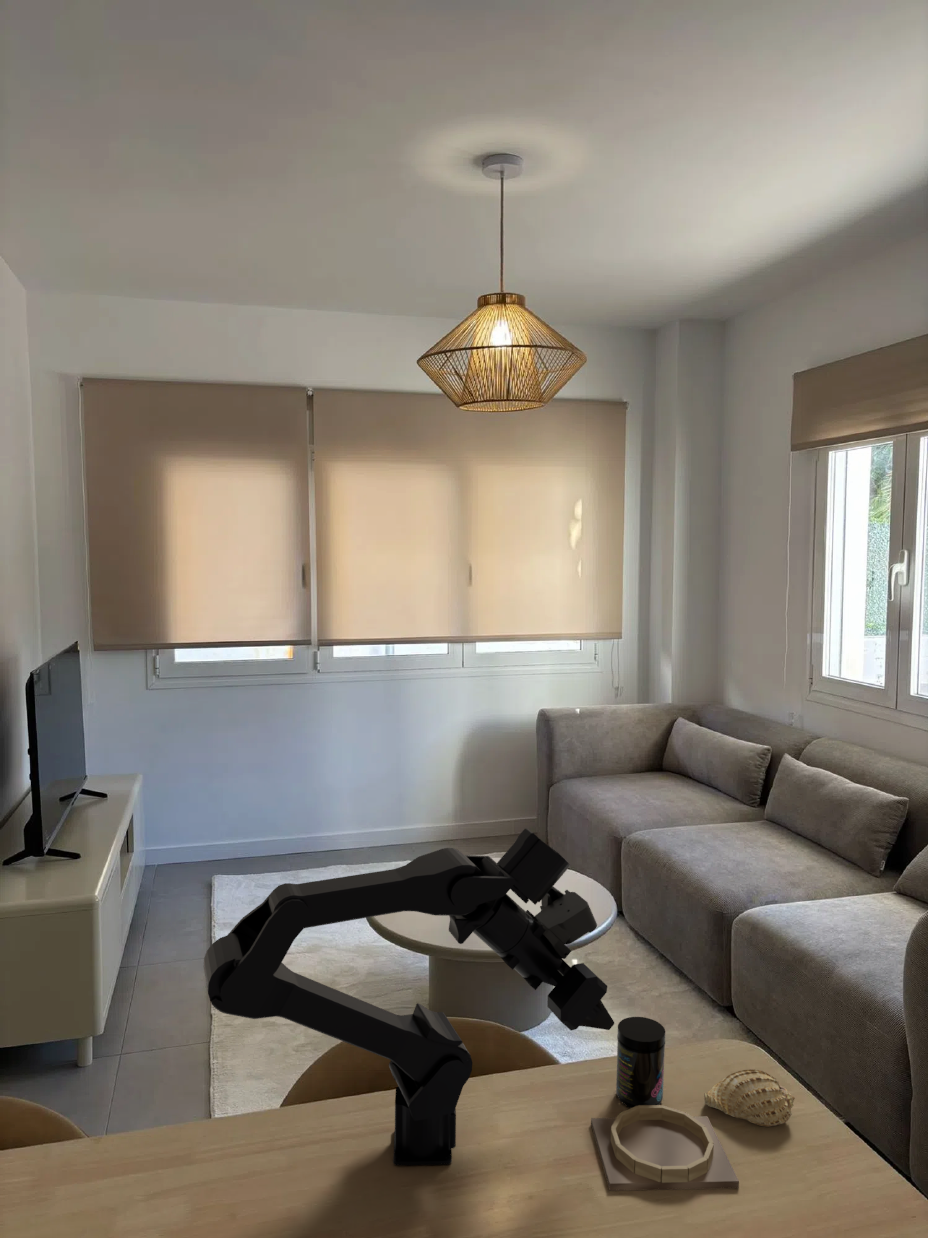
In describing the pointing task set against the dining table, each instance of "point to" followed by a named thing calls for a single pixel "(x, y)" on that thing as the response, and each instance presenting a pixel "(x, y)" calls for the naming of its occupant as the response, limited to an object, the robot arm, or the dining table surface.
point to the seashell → (752, 1098)
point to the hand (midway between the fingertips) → (592, 1007)
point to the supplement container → (640, 1061)
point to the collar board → (661, 1151)
